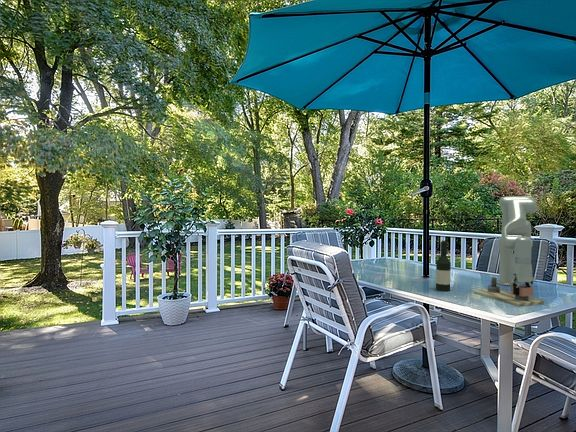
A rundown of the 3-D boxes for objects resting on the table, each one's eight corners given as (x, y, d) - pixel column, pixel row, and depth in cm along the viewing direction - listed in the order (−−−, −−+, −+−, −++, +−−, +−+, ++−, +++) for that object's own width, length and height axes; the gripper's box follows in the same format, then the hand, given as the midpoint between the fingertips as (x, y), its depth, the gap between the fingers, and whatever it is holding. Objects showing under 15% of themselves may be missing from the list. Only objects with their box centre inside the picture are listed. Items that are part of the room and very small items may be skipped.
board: (497, 290, 221) (497, 275, 221) (545, 303, 192) (545, 285, 192) (473, 292, 216) (473, 276, 216) (518, 306, 187) (518, 287, 187)
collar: (521, 292, 200) (521, 285, 200) (533, 295, 193) (533, 288, 193) (511, 293, 198) (511, 286, 198) (522, 296, 191) (522, 288, 191)
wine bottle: (440, 287, 229) (440, 239, 228) (453, 290, 222) (454, 240, 221) (432, 289, 224) (433, 240, 223) (446, 292, 217) (446, 241, 216)
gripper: (528, 259, 201) (527, 291, 201) (503, 260, 196) (502, 293, 196) (541, 261, 194) (540, 294, 194) (516, 262, 189) (515, 297, 189)
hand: (521, 294), depth 195 cm, fingers closed on collar, 7 cm apart
